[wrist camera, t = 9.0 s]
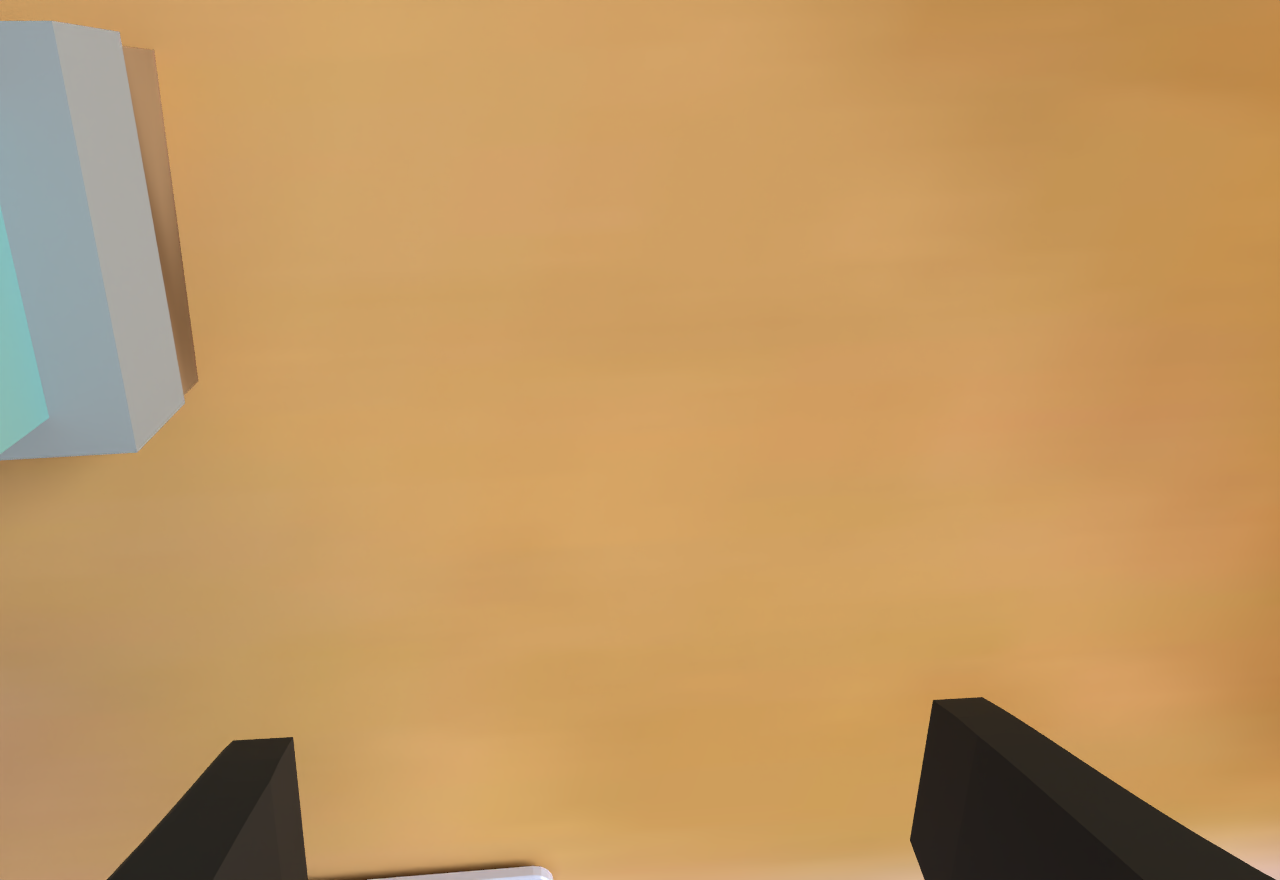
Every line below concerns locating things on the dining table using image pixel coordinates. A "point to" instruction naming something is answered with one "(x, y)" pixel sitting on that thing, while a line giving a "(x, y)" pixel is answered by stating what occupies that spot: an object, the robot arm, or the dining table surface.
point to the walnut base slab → (161, 201)
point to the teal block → (16, 358)
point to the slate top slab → (83, 242)
